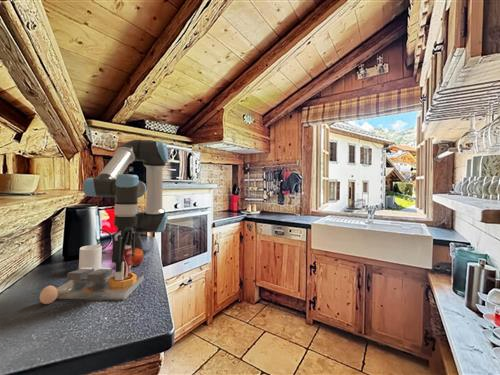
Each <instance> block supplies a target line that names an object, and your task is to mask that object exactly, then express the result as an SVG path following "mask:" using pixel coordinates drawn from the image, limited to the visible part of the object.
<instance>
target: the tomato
mask: <svg viewBox="0 0 500 375" xmlns="http://www.w3.org/2000/svg"><path fill="white" fill-rule="evenodd" d="M133 254H134V256H132V260H131V267H135V266H138V265H139V266H140V264H141V263H142V262H143V259H144V252H143V249H142V250H141V249H138V248H135V252H134V253H133Z"/></svg>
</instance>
